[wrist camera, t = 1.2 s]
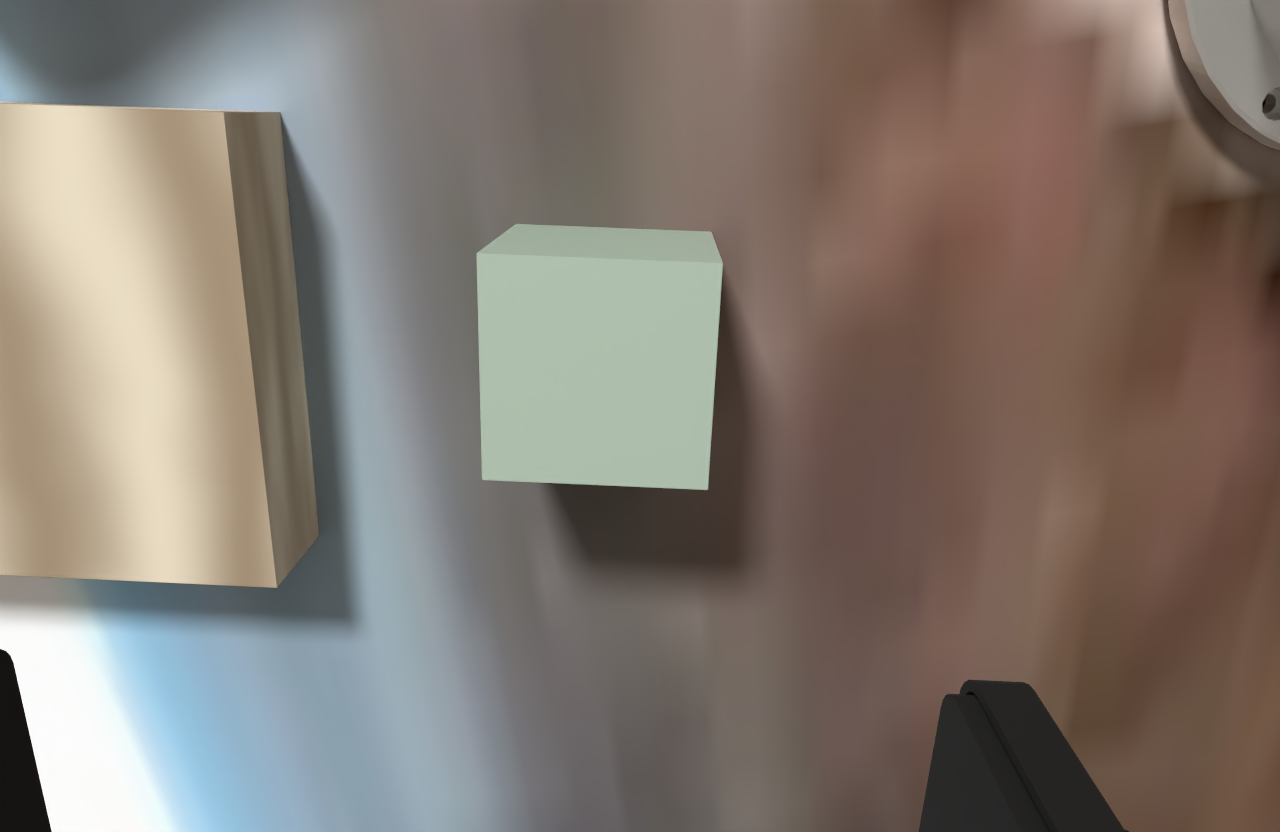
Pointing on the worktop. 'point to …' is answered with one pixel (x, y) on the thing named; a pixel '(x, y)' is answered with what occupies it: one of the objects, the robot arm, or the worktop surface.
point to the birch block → (150, 348)
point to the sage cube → (598, 355)
